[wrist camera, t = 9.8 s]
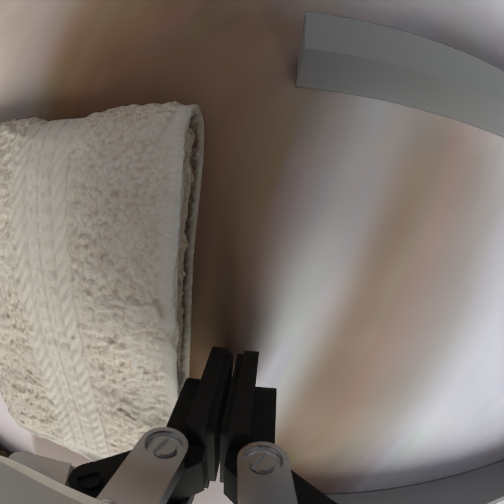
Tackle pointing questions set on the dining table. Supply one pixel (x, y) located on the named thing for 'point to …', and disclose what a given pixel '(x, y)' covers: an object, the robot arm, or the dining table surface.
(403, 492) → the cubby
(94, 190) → the washcloth
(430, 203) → the dining table surface
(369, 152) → the dining table surface
